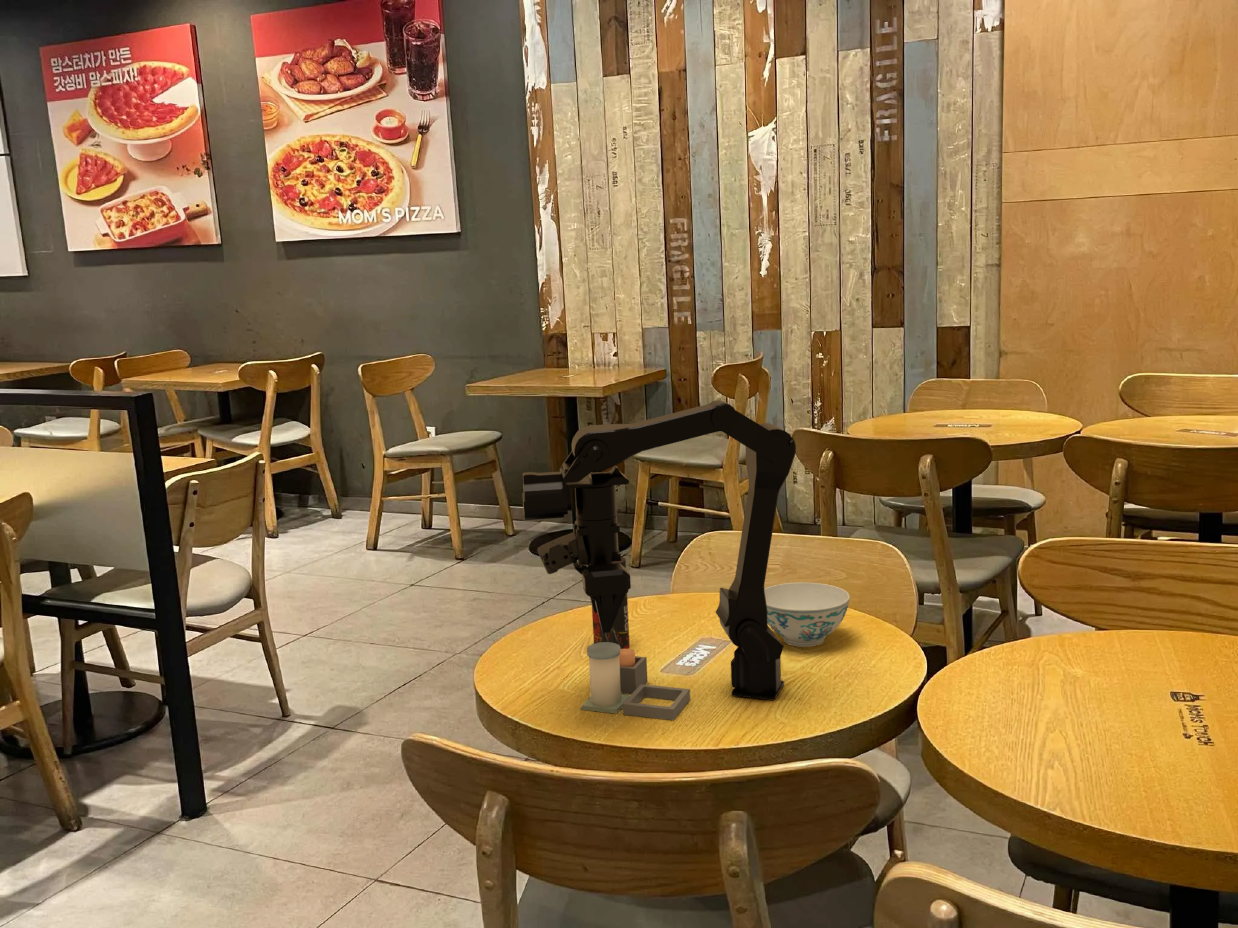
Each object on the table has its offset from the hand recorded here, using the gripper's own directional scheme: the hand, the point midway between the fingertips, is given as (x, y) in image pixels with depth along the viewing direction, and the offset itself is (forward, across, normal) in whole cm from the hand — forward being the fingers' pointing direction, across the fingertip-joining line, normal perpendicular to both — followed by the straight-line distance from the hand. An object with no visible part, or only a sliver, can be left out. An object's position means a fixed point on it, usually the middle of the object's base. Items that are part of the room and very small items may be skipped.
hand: (601, 622), depth 158 cm
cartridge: (+12, 0, 0) cm, 12 cm away
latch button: (+11, -6, +4) cm, 13 cm away
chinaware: (+13, -18, +36) cm, 42 cm away
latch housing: (+12, -6, +4) cm, 14 cm away
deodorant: (+13, -24, +4) cm, 27 cm away
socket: (+12, +3, +7) cm, 15 cm away
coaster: (+12, 0, 0) cm, 12 cm away
